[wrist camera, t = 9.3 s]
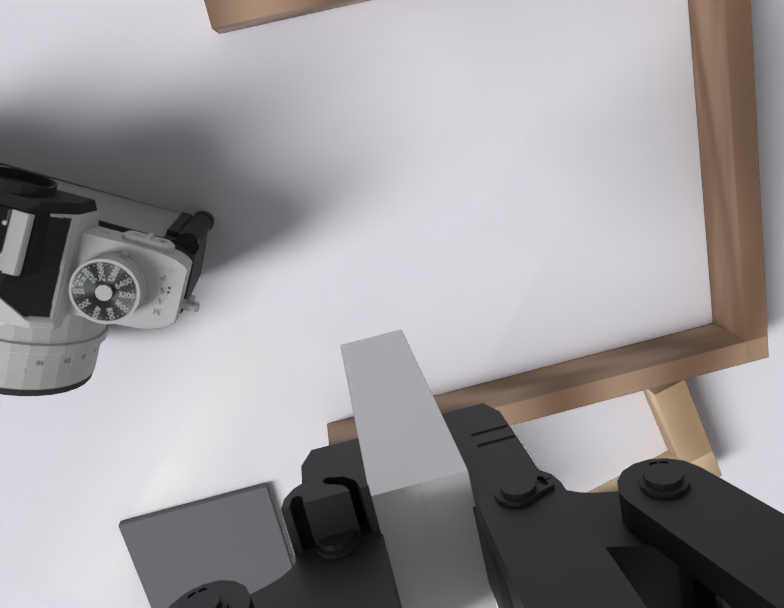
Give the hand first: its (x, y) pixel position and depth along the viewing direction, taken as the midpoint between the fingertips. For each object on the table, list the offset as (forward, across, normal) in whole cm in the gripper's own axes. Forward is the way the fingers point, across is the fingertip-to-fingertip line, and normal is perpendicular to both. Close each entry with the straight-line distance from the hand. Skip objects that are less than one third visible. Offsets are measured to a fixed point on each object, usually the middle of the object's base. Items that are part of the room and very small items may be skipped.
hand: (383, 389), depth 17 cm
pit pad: (+19, -11, -16) cm, 27 cm away
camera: (+19, -13, +3) cm, 24 cm away
